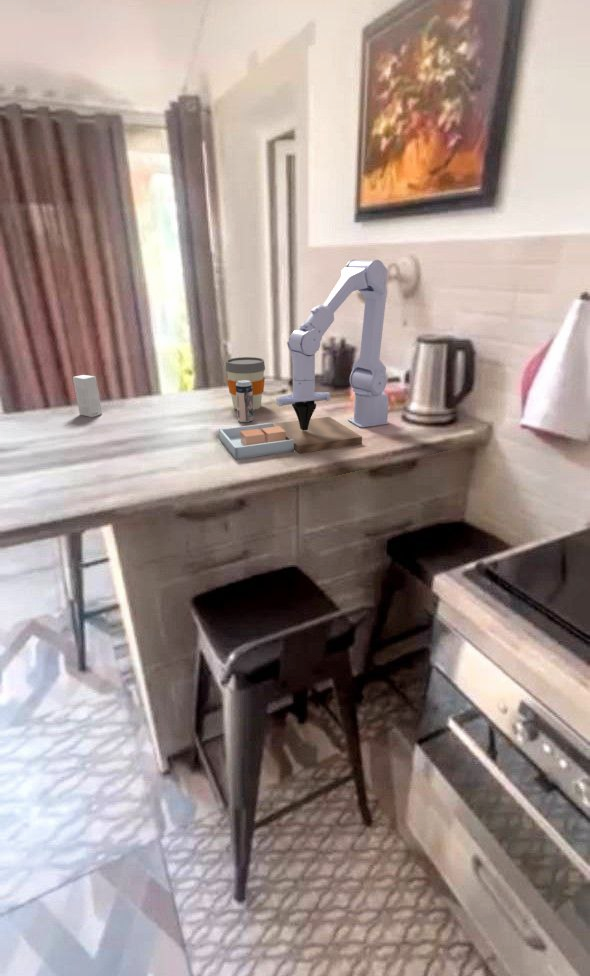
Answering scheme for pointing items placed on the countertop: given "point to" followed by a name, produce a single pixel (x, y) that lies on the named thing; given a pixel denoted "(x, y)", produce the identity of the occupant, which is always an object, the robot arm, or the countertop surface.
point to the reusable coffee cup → (246, 377)
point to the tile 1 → (252, 437)
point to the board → (319, 435)
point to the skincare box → (87, 395)
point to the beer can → (244, 400)
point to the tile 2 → (274, 434)
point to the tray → (239, 451)
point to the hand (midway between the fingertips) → (303, 429)
